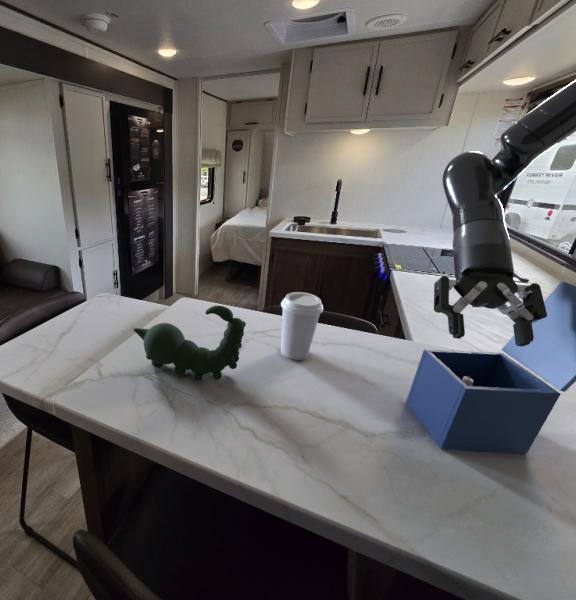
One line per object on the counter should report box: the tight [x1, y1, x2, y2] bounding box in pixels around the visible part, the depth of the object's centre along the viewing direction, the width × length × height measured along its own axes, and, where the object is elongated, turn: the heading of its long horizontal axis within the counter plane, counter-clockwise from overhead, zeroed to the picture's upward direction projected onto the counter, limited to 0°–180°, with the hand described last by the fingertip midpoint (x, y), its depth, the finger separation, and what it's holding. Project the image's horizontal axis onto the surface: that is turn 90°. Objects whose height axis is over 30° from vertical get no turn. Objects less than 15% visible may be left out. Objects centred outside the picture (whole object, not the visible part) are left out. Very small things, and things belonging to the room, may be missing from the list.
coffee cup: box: [280, 291, 324, 361], centre depth 83 cm, size 10×10×15 cm
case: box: [405, 349, 561, 455], centre depth 60 cm, size 14×12×13 cm
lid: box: [500, 280, 576, 393], centre depth 54 cm, size 14×12×1 cm
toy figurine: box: [133, 305, 247, 382], centre depth 76 cm, size 9×19×25 cm
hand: (490, 341), depth 54 cm, fingers open, 8 cm apart
